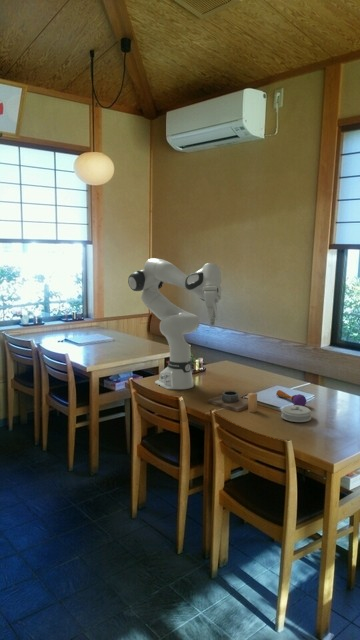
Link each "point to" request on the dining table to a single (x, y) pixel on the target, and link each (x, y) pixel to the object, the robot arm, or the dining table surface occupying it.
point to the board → (230, 404)
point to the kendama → (293, 398)
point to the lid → (296, 413)
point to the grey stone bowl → (230, 396)
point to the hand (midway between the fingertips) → (211, 322)
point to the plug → (252, 402)
